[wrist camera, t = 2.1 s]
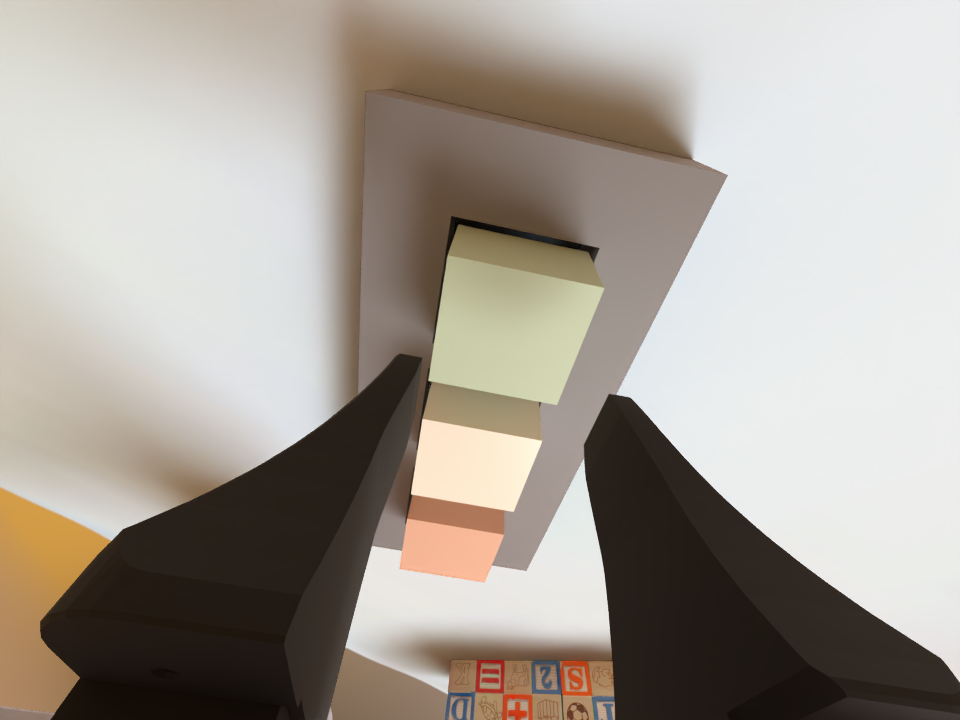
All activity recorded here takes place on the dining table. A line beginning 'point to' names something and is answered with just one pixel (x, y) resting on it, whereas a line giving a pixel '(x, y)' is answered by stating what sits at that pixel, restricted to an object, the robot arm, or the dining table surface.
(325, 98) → the dining table surface
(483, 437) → the cream key
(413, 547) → the terracotta key
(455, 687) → the stack of blocks
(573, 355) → the green key
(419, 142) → the board
